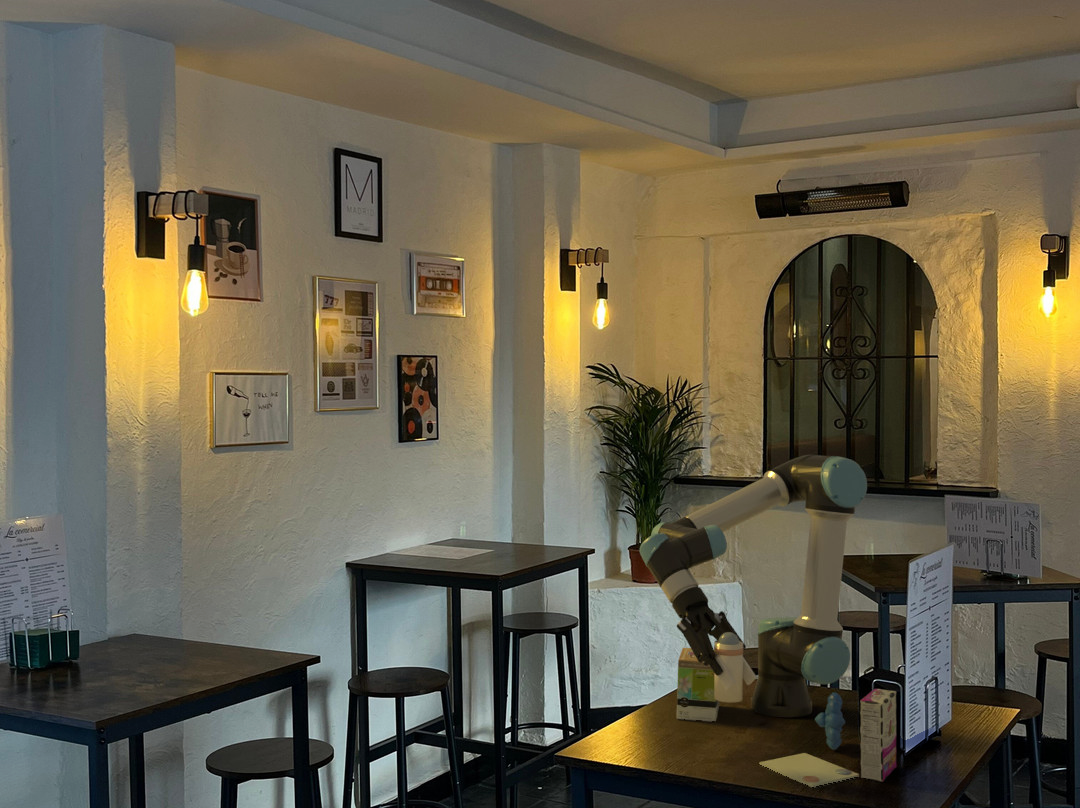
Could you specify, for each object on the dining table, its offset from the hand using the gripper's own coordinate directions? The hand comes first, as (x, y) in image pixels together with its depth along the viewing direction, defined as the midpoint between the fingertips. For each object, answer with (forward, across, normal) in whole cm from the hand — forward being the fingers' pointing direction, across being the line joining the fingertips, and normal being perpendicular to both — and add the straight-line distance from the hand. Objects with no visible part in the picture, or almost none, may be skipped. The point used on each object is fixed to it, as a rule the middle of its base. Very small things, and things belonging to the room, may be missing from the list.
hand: (741, 683), depth 238 cm
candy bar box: (+27, -21, +1) cm, 34 cm away
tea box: (-11, -25, -38) cm, 47 cm away
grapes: (+15, -28, -12) cm, 34 cm away
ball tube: (0, 0, -5) cm, 5 cm away
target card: (+20, -10, -6) cm, 23 cm away
